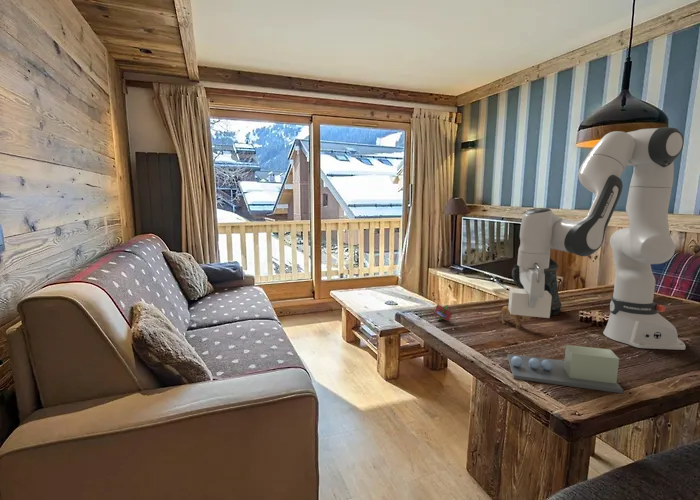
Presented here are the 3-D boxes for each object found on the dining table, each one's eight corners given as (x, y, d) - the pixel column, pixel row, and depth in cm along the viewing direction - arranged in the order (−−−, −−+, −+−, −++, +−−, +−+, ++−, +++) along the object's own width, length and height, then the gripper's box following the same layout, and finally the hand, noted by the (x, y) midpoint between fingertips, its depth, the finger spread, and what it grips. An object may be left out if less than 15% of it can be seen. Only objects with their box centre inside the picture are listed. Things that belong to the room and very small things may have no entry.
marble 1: (523, 358, 107) (515, 352, 107) (525, 364, 104) (517, 357, 104) (516, 365, 108) (508, 358, 108) (518, 370, 105) (509, 364, 105)
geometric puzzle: (458, 315, 146) (447, 298, 148) (452, 320, 141) (441, 302, 143) (444, 323, 150) (434, 306, 152) (438, 327, 145) (427, 310, 147)
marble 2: (538, 366, 106) (539, 357, 105) (540, 371, 103) (541, 362, 103) (526, 364, 107) (528, 355, 106) (528, 369, 104) (530, 360, 103)
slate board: (602, 368, 107) (603, 365, 107) (622, 393, 94) (623, 389, 94) (507, 356, 114) (507, 353, 114) (513, 378, 101) (513, 375, 101)
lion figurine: (534, 328, 138) (536, 306, 137) (526, 332, 135) (528, 308, 134) (498, 318, 150) (500, 297, 148) (491, 320, 147) (492, 299, 145)
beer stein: (569, 314, 154) (575, 256, 151) (529, 317, 150) (534, 258, 146) (541, 303, 170) (546, 250, 166) (505, 305, 166) (509, 251, 162)
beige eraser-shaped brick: (545, 311, 117) (547, 290, 116) (549, 318, 111) (551, 295, 110) (508, 308, 120) (509, 287, 119) (510, 314, 114) (512, 292, 113)
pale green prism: (607, 373, 102) (610, 349, 101) (616, 383, 97) (619, 358, 96) (563, 367, 105) (566, 344, 104) (569, 377, 100) (572, 353, 99)
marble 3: (550, 368, 105) (552, 359, 104) (552, 373, 102) (555, 364, 102) (539, 366, 106) (541, 356, 105) (541, 371, 103) (543, 361, 102)
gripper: (552, 268, 102) (547, 315, 104) (537, 256, 121) (534, 296, 124) (527, 266, 104) (523, 313, 106) (517, 255, 123) (514, 294, 125)
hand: (529, 303), depth 115 cm, fingers closed on beige eraser-shaped brick, 6 cm apart
